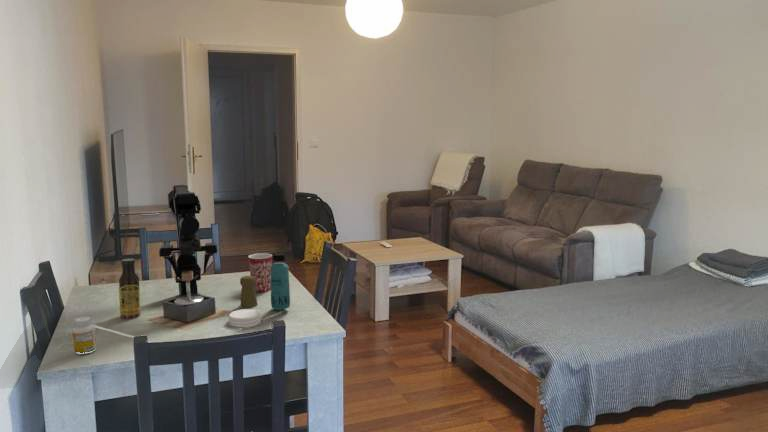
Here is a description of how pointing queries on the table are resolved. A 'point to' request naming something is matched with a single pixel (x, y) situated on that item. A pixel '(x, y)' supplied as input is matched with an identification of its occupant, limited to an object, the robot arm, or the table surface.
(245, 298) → the pepper shaker
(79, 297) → the table surface
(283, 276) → the beverage bottle
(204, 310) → the shallow square tray
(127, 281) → the sauce bottle
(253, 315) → the white round container
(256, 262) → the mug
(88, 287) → the table surface
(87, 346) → the supplement bottle
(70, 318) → the table surface
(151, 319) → the tan square board
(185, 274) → the plunger
